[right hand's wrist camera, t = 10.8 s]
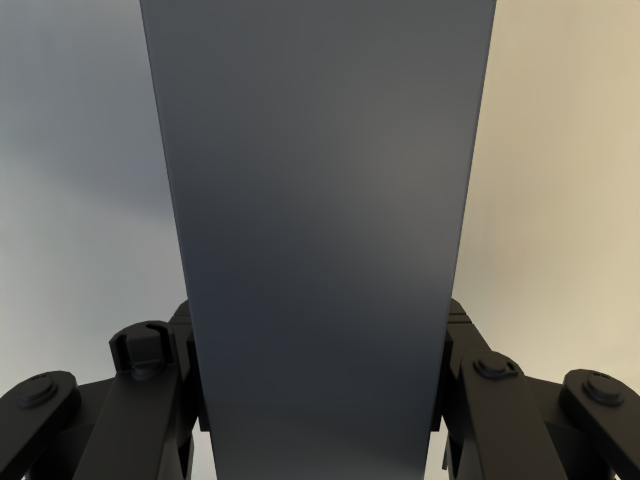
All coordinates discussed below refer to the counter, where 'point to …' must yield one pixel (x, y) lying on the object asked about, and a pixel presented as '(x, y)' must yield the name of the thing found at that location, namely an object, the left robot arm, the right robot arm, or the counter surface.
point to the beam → (319, 218)
